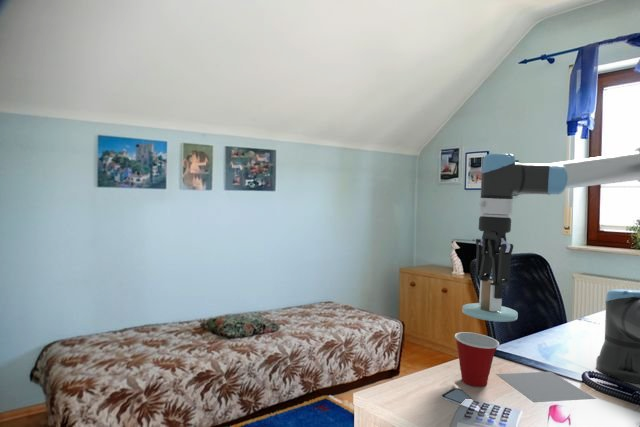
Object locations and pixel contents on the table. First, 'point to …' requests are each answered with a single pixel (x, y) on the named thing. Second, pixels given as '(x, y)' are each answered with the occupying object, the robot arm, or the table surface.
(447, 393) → the smartphone
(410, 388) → the table surface
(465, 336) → the plastic cup
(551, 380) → the mat
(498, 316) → the lid
